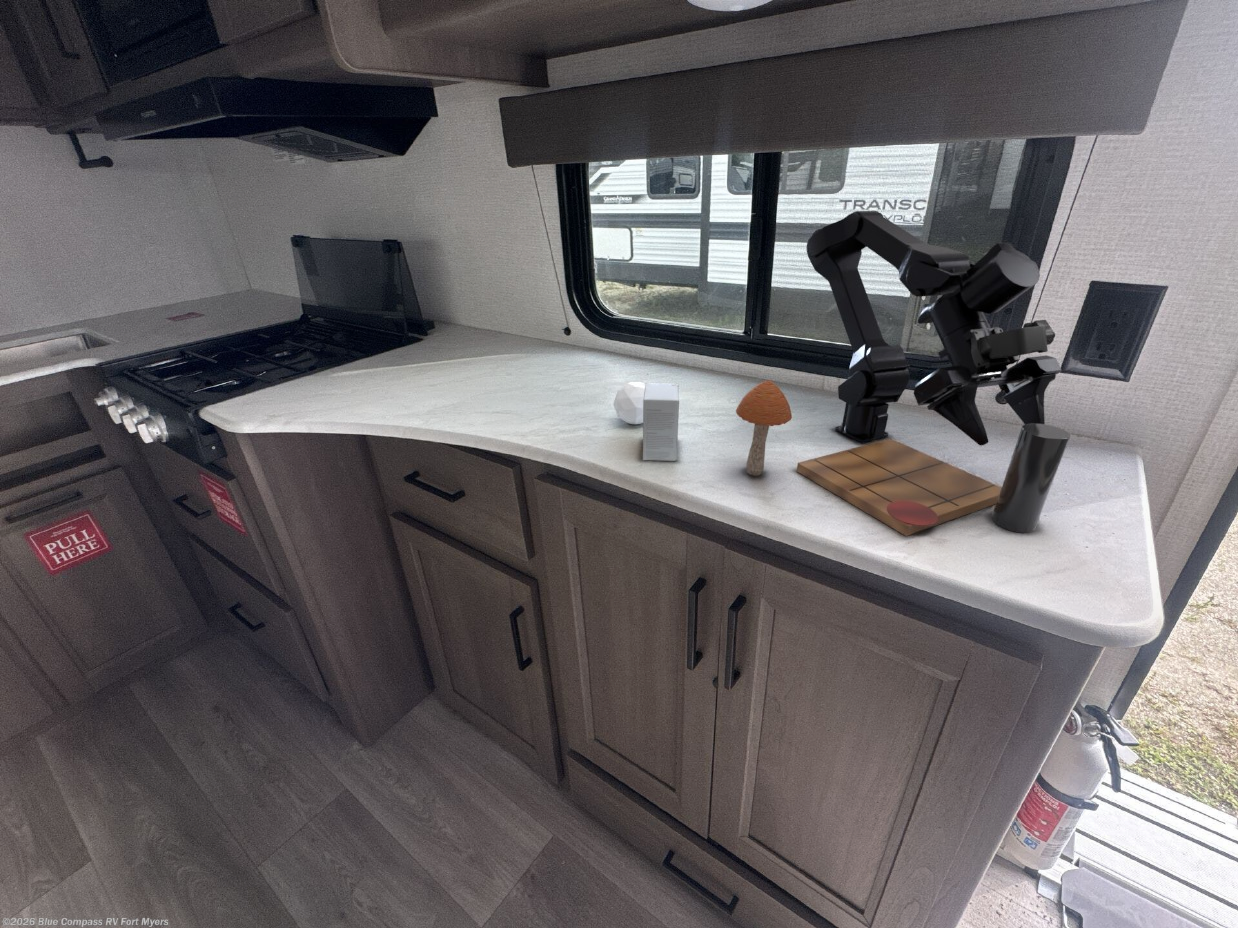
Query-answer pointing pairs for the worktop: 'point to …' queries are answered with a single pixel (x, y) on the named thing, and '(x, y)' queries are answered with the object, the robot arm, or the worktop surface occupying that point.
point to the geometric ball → (630, 403)
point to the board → (900, 485)
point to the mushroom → (762, 419)
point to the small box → (660, 421)
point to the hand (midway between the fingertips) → (1013, 439)
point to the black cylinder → (1030, 477)
